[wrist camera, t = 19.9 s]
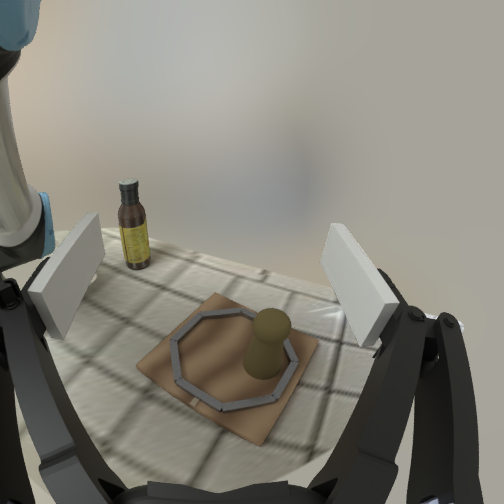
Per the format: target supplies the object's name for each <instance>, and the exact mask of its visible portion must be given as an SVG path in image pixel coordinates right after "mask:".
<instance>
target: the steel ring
mask: <svg viewBox="0 0 504 504" xmlns="http://www.w3.org/2000/svg"><path fill="white" fill-rule="evenodd" d="M256 315H257V314H256V313H254V312H251V311H249V310H247V309H245V308H243V309H242V308H232V309H222V310H212V311H201V312H200V313H197V314H196V315H195V316H194V317H193V318H192V319H191V320H189V321H188V322H187V323H186V324H185V325H184V326H183V327H182V328H181V329H180V330H179V331H178V332H177V333H176V334H174V335H173V336H172V337H171V338H170V340H169V341H170V351H171V360H172V368H173V376H174V382H175V383H176V386H178V387H179V388H181V389H182V390H184V391H185V392H187V393H188V394H190V395H191V396H193V397H194V398H197V399H198V400H199V401H201V402H202V403H204V404H206V405H207V406H209V407H210V408H212V409H214V410H216V411H217V412H219V413H220V412H221V411H222V413H229V412H235V411H241V410H246V409H251V408H256V407H261V406H266V405H270V404H275V402H277V401H278V399H279V398H280V396H281V394H282V393H283V391H284V389H285V387H286V386H287V384H288V382H289V380H290V379H291V377H292V375H293V373H294V371H295V370H296V368H297V366H298V364H299V363H298V362H299V360H298V358H297V356H296V354H295V352H294V350H293V347H292V345H291V343H290V341H289V339H288V338H287V339H286V340H285V341H284V345H283V350H284V352H285V354H286V357H287V359H288V361H289V363H290V364H289V366H288V368H287V369H286V371H285V373H284V375H283V376H282V378H281V380H280V381H279V383H278V385H277V386H276V388H275V390H274V391H273V393H272V394H270V395H265V396H261V397H256V398H251V399H245V400H240V401H234V402H228V403H222V402H220V401H218V400H217V399H215V398H213V397H211V396H210V395H208V394H206V393H205V392H203V391H202V390H200V389H198V388H197V387H195V386H194V385H192V384H190V383H189V382H187V381H186V380H184V379H183V378H182V375H181V368H180V361H179V353H178V346H177V345H178V344H179V343H180V342H181V341H182V340H183V339H184V338H185V337H186V336H187V335H188V334H189V333H190V332H191V331H192V330H193V329H194V328H195V327H196V326H197V325H198V324H199V323H200V322H201V321H202V320H209V319H219V318H228V317H237V316H242V317H244V318H246V319H248V320H250V321H252V322H253V320H254V318H255V316H256Z"/></svg>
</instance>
